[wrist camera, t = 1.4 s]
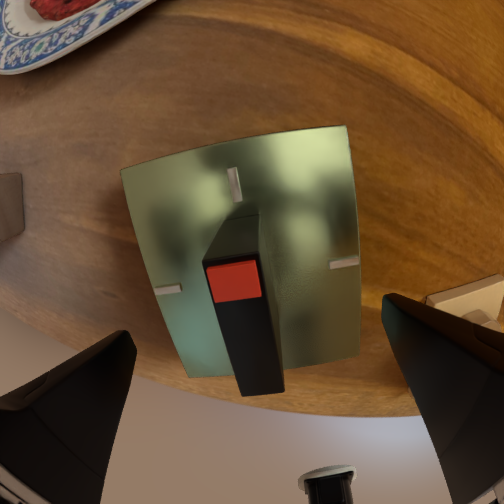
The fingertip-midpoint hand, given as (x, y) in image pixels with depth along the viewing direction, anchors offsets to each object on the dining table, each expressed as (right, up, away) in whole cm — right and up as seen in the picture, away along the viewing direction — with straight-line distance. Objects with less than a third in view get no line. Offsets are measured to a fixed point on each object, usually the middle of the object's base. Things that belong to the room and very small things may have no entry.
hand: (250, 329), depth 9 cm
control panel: (0, +2, +7) cm, 7 cm away
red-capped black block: (0, +1, +4) cm, 4 cm away
